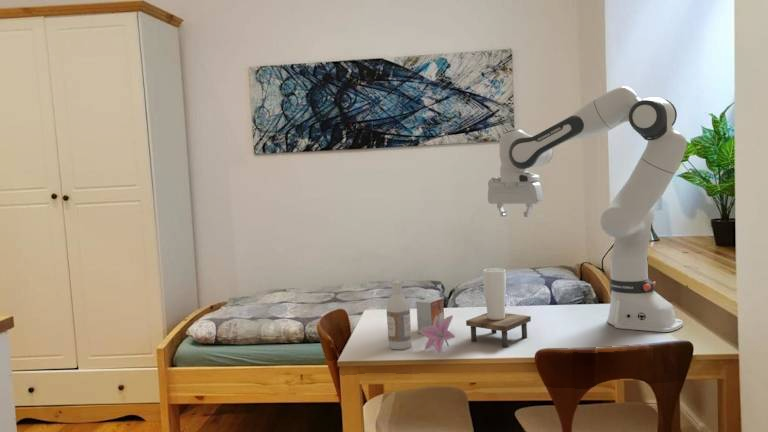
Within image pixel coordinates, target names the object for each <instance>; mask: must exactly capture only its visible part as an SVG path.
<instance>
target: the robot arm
mask: <svg viewBox="0 0 768 432" xmlns="http://www.w3.org/2000/svg"><path fill="white" fill-rule="evenodd" d="M677 117H678V113H677V109H676V107H675V104H673V103H672V102H671V101H669V100H668V99H665V98H660V97H646V98H645V97H644V98H642V99H641V98H640V97H639V96H638V95H637V92H636V91H635V90H633V88H631V87H629V86H620V87H617V88H614V89H612V90H610V91H606V92H604V93H603V94H601V95H599V96H597V97H595V98H594V99H592V100H590V101H589V102H587V103H586V104H584V105H583V106H581V107H580V108H578V109H577V110H576V111H574V112H573V113H571V114H570V115H568V116H567V117H566V118H564V119H563V120H561V121H559V122H558V123H556V124H554V125H552V126H550V127H548V128H547V129H545V130H543V131H541V132H539V133H537V134H535V135H530V134H528V133H526V132H525V131H523V130H522V129H513V130H507V131H505V132H503V133H502V134H501V135H500V139H499V159H500V171H499V172H500V173H499V174H500V177H491V178H490V179H489V180H488V181H487V184H488V185H487V186H488V189H487V190H488V191H487V202H488V203H489V204H493V205H494V204H495V205H496V208H497V209H498V211H499V214H500V217H503V218H504V217H507V211H506V210H505V209H504V206H505V205H507V204H510V205H512V204H513V205H514V204H515V205H517V204H519V205H520V204H521V205H525V207H526V209H525V211H523V217H525V218H530V217H531V211H532V209H533V206H534V204H535V205H536V204H537V205H538V204H541V203H542V201H543V189H542V185H541V183H540V182H539V181H541V180H540V179H541V178H540V177H541V176H540V175H539V174H536V173H533V172H531V171H528V170H527V169H529V168H537V167H543V166H545V165H547V164H548V163H549V162H550V161H551V160H552V158H553V154H554V149H555V148H556V147H558V146H560V145H562V144H564V143H566V142H570V141H572V140H579V139H585V138H586V139H588V138H593V137H596V136H599V135H602V134H604V133H607V132H609V131H611V130H613V129H615V128H616V127H618V126H620V125H621V124H624V123H626V122H629V125H630V126H631V127H632V130H634V131H635V132H636V133H638V134H639V135H640V137H642V138H643V139H644V140H645V141H647V144H646V147H645V149H644V151H643V153H642V154H641V157H639V160H638V161H637V164H636V165H635V167H634V169H633V170H632V173H631V174H630V176H629V177H628V179H627V181H626V182H625V183H624V185H623V187H621V189H620V190H619V191H618V192H617V194H616V196H615V197H614V198H613V200H612V201H611V202H610V204H609V206H608V207H607V208H606V209H605V210H604V211H603V212H602V214H601V217H600V227H601V229H602V230H603V232H604V233H605V235H608V236H609V237H612V238H614V241H613V247H612V249H611V251H610V278H609V293H610V305H609V312H608V315H607V318H606V322H607V323H608V324H610V325H613V326H614V328H616V329H620V330H621V329H623V330H632V331H633V330H635V331H636V330H637V331H645V332H646V331H649V332H659V333H669V332H674V331H676V330H679V329H681V328H682V327H683V326H684V321H683V320H682V319H679V318H676V314H675V310H674V306H673V304H672V303H671V302H669V301H668V300H666V298H664V297H663V296H662V295H660V294H659V293H658V292H656V291H655V286H656V281H652V280H651V279H650V278H649V275H648V274H649V272H648V271H649V270H648V269H649V268H648V267H649V266H648V256H649V255H648V253H649V251H648V250H649V244H650V240H651V239H650V238H651V230H652V223H653V221H654V216H655V215H654V210H653V207H654V206H655V205H656V203H657V202H658V201H659V200H660V199H661V198H662V196H663V195H664V193H665V192H666V190H667V188H668V187H669V184H670V183H671V181H672V179H673V178H674V175H675V174H676V173H677V170H678V169H679V167H680V166H681V165H680V164H681V163H682V161H683V158H684V156H685V153H686V150H687V147H688V142H687V138H686V137H685V136H684V135H683V134H682V133H680V132H679V131H677V130H676V129H674V127H673V126H674V125H675V123H676V121H677Z"/></svg>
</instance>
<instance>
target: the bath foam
mask: <svg viewBox="0 0 768 432" xmlns="http://www.w3.org/2000/svg"><path fill="white" fill-rule="evenodd" d="M402 285H403V284H402V281H400V280H393V281H392V282H391V296H390V297H389V299H388V301H387V304H386V319H387V321H386V322H387V324H386V325H387V339H388V347H389V349H391V350H396V351H397V350H398V351H399V350H407V349H409V348H411V347H412V327H411V325H412V324H411V309H410V304H409V302H408V300H407V298H406V296H405V295H404V294H403V288H402V287H403V286H402Z"/></svg>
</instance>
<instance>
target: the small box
mask: <svg viewBox="0 0 768 432" xmlns="http://www.w3.org/2000/svg"><path fill="white" fill-rule="evenodd" d="M415 303H416V316H417V317H416V318H417V320H416V321H417V333H418V334H421V332H420V329H422V328H424V327H427V326H433V323H434V319H435V316H438V318H439V319H440V321H442V320H444V319H445V309H444V308H445V307H444V298H443V297H434V296H429V297H427V298H424V299H421V300H417V301H416V302H415Z"/></svg>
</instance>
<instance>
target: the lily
mask: <svg viewBox="0 0 768 432" xmlns="http://www.w3.org/2000/svg"><path fill="white" fill-rule="evenodd" d="M453 318H454V316H453V315H452V314H451V315H449V316H447V317H444V320H442V321H440V319H439V318H438V316H435V319H434V323H433V326H427V327H424V328H422V329H420V332H421V333H420V334H421V335H422V336H424V337H425V339H427V341H426V343H425V346H424V349H423V350H424V351H427V350H428V349H430V348H432V347H433V348H434V351H435V352H436V353H437V355H441V353H442V351H443V346H444V342H445V343H446V346H448V347H449V343H448V341H449V340H452V339H455V338H456V336H455V335H454V334H453V332H451V331H449V327H450V325H451V323H452V320H453Z"/></svg>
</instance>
